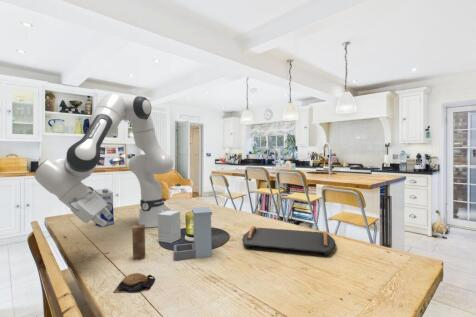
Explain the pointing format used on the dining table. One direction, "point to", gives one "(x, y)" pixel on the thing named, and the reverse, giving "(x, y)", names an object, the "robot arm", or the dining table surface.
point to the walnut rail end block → (138, 242)
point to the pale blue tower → (197, 237)
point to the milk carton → (108, 197)
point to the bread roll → (135, 283)
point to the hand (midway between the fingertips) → (108, 221)
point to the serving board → (289, 240)
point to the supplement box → (169, 226)
